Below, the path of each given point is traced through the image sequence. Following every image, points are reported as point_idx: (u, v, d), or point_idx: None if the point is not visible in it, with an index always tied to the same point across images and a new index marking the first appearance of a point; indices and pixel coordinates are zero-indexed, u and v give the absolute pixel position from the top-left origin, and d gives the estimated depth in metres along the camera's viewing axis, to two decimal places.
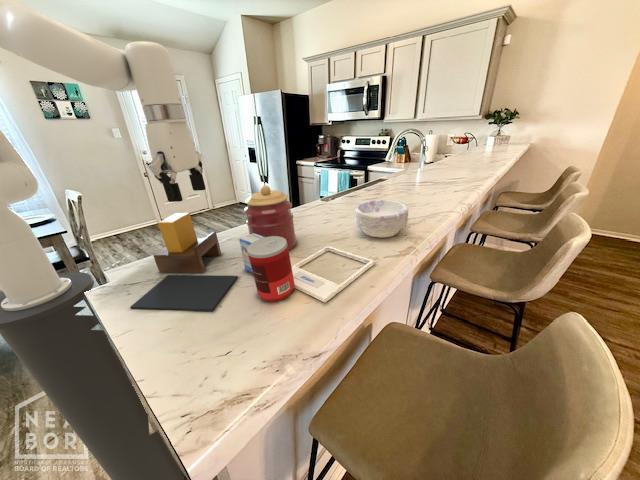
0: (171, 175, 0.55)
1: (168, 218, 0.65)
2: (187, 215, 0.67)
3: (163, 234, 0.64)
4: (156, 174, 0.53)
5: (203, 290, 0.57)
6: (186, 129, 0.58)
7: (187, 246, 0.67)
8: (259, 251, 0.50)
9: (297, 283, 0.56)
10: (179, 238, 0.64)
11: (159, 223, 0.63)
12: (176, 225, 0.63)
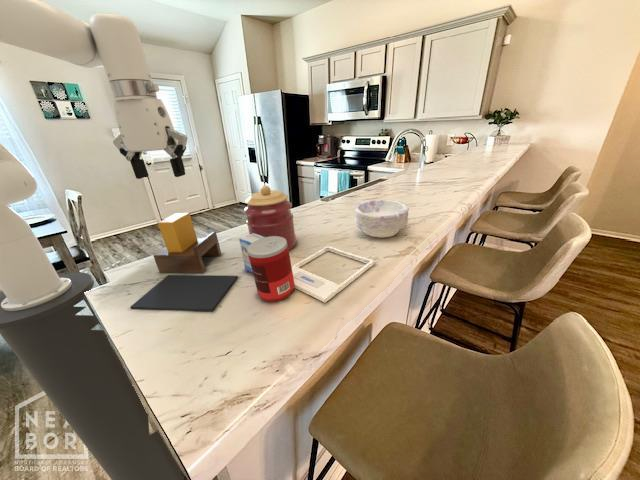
0: (127, 153, 0.58)
1: (168, 218, 0.65)
2: (187, 215, 0.67)
3: (163, 234, 0.64)
4: None
5: (203, 290, 0.57)
6: (141, 107, 0.53)
7: (187, 246, 0.67)
8: (259, 251, 0.50)
9: (297, 283, 0.56)
10: (179, 238, 0.64)
11: (159, 223, 0.63)
12: (176, 225, 0.63)
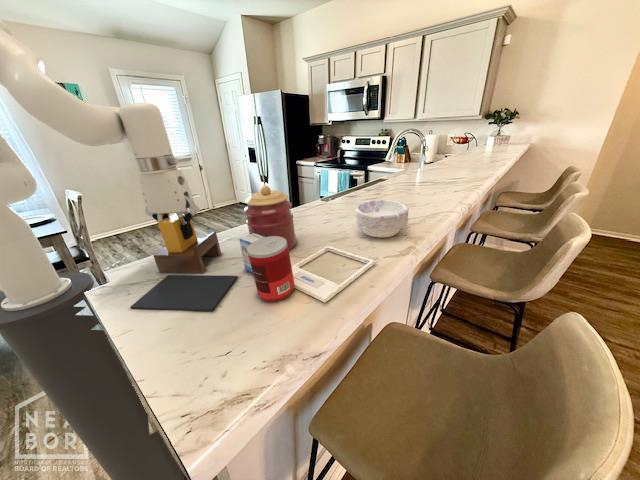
0: None
1: (168, 218, 0.65)
2: None
3: (163, 234, 0.64)
4: None
5: (203, 290, 0.57)
6: (163, 179, 0.59)
7: (187, 246, 0.67)
8: (259, 251, 0.50)
9: (297, 283, 0.56)
10: (179, 238, 0.64)
11: (159, 223, 0.63)
12: (176, 225, 0.63)
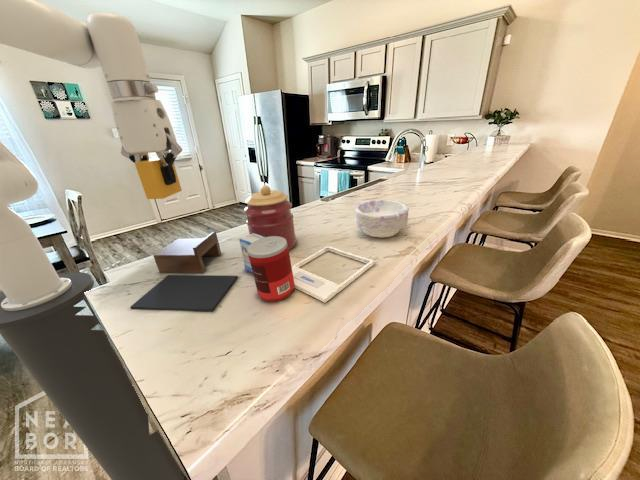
0: None
1: (147, 160, 0.58)
2: None
3: (141, 177, 0.57)
4: None
5: (203, 290, 0.57)
6: (140, 108, 0.52)
7: (169, 193, 0.60)
8: (259, 251, 0.50)
9: (297, 283, 0.56)
10: (159, 182, 0.57)
11: (136, 163, 0.56)
12: (156, 166, 0.56)
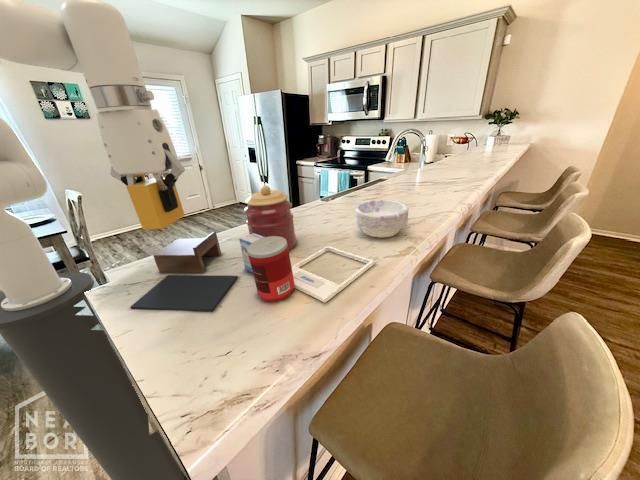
0: None
1: (142, 182, 0.47)
2: None
3: (135, 203, 0.46)
4: None
5: (203, 290, 0.57)
6: (131, 120, 0.41)
7: (169, 221, 0.50)
8: (259, 251, 0.50)
9: (297, 283, 0.56)
10: (157, 209, 0.46)
11: (128, 187, 0.45)
12: (153, 190, 0.46)
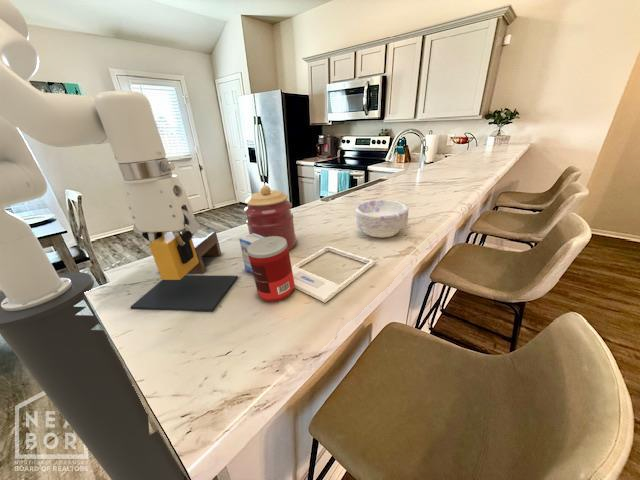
0: None
1: (161, 237, 0.52)
2: None
3: (156, 258, 0.51)
4: None
5: (203, 290, 0.57)
6: (155, 189, 0.46)
7: (186, 271, 0.54)
8: (259, 251, 0.50)
9: (297, 283, 0.56)
10: (175, 263, 0.51)
11: (150, 245, 0.49)
12: (172, 246, 0.50)
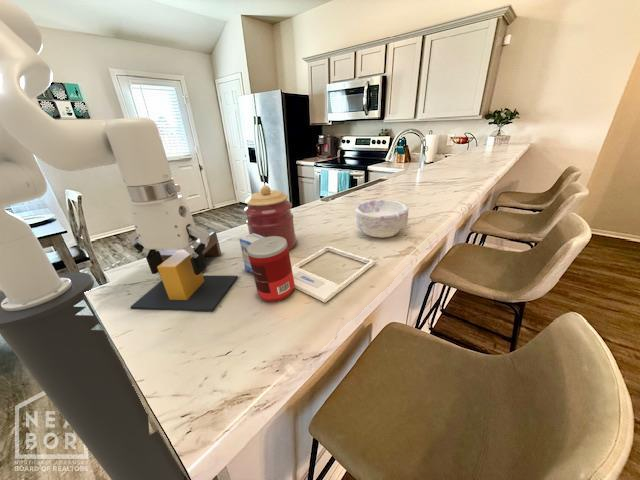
0: (143, 249, 0.53)
1: (169, 259, 0.54)
2: None
3: (164, 280, 0.53)
4: None
5: (203, 290, 0.57)
6: (161, 210, 0.47)
7: (192, 291, 0.56)
8: (259, 251, 0.50)
9: (297, 283, 0.56)
10: (183, 284, 0.53)
11: (159, 267, 0.52)
12: (180, 268, 0.52)
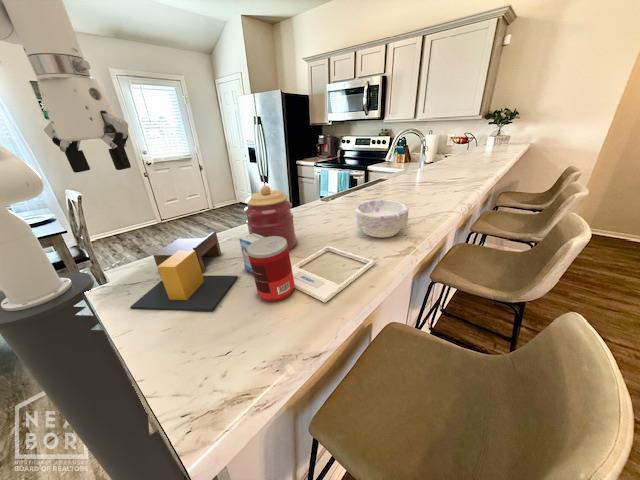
0: None
1: (169, 259, 0.54)
2: (192, 254, 0.56)
3: (164, 280, 0.53)
4: None
5: (203, 290, 0.57)
6: (68, 88, 0.45)
7: (192, 291, 0.56)
8: (259, 251, 0.50)
9: (297, 283, 0.56)
10: (183, 284, 0.53)
11: (159, 267, 0.52)
12: (180, 268, 0.52)
